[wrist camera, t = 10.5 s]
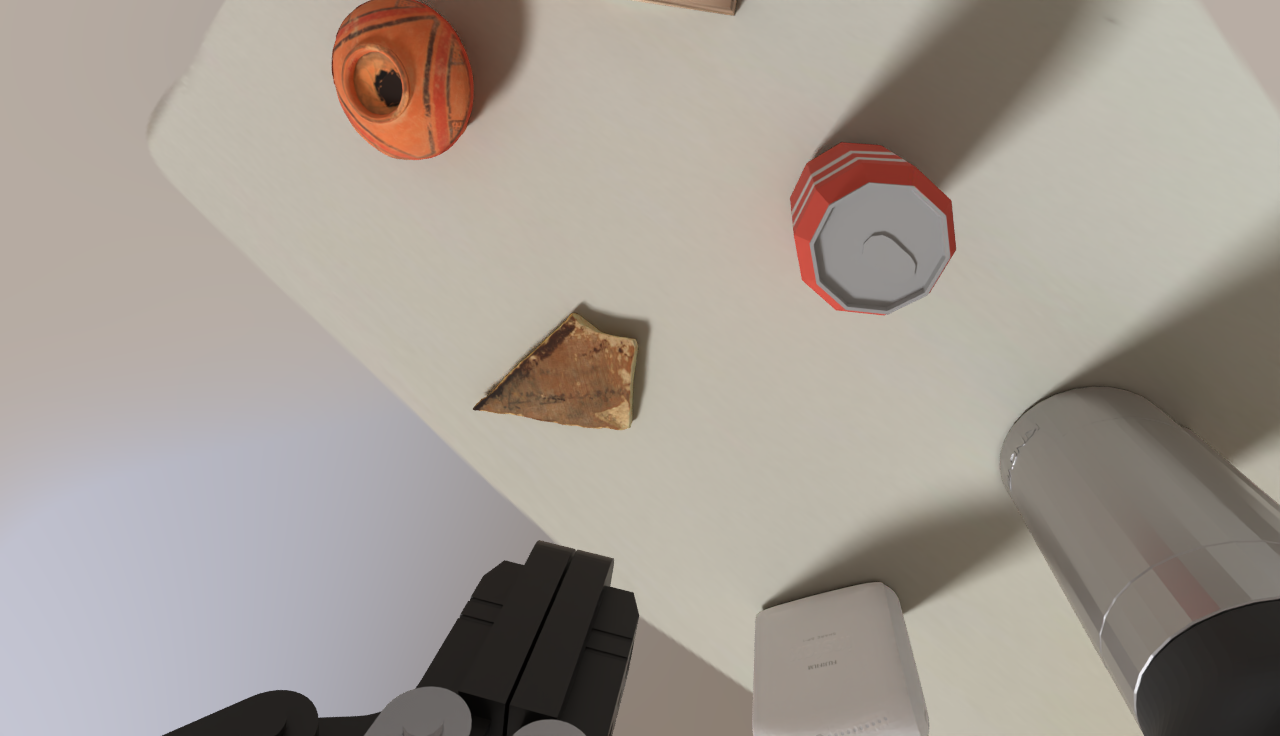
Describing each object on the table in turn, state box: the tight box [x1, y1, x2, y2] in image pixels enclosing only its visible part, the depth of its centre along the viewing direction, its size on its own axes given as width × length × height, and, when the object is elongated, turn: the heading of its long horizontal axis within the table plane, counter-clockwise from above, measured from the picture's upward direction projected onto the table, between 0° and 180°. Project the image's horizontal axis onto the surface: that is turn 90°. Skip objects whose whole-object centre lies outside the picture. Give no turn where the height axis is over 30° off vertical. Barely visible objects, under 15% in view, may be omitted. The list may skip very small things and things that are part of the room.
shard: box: [473, 313, 638, 430], centre depth 44 cm, size 11×8×2 cm
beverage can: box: [790, 142, 956, 315], centre depth 31 cm, size 6×6×12 cm
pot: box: [332, 0, 474, 160], centre depth 36 cm, size 8×8×7 cm
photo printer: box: [753, 582, 929, 736], centre depth 42 cm, size 10×4×12 cm, turn 117°
